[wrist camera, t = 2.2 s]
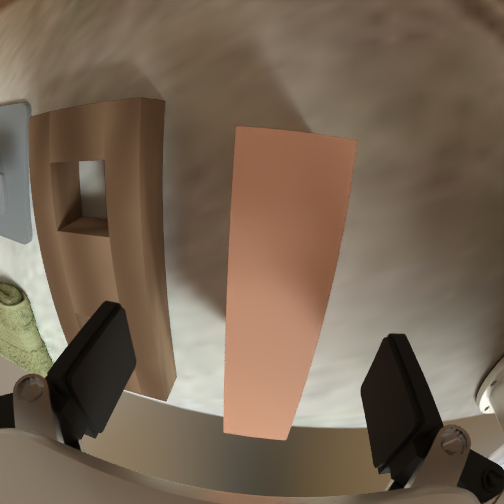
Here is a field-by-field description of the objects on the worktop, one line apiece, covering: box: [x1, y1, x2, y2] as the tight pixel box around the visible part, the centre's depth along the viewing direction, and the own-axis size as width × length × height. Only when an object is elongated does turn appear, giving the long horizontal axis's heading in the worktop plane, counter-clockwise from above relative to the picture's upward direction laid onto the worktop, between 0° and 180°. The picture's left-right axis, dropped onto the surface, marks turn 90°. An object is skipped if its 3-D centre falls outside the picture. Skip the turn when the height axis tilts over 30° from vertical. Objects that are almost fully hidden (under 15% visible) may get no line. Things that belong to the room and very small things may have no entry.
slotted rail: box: [28, 97, 177, 401], centre depth 18 cm, size 9×22×3 cm, turn 176°
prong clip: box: [224, 126, 357, 440], centre depth 14 cm, size 4×15×8 cm, turn 176°
